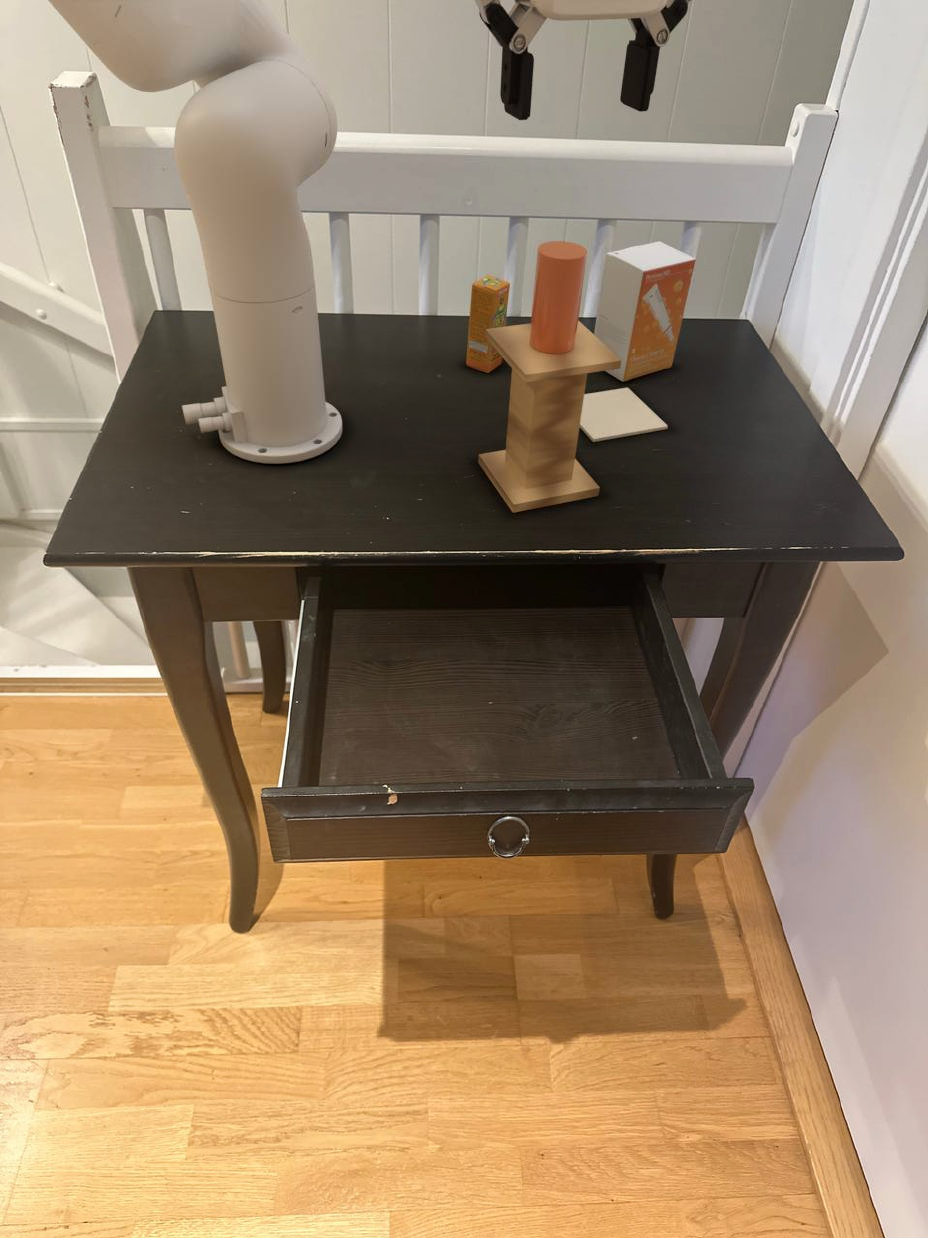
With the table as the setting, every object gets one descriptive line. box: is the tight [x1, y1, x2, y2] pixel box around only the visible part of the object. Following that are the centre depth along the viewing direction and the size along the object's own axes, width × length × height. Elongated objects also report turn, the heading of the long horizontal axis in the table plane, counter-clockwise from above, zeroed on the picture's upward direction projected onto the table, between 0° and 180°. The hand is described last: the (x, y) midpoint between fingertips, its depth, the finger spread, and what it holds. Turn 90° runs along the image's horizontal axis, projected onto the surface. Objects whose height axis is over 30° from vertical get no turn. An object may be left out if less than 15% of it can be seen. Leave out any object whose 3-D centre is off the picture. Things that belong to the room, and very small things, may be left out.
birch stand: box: [477, 319, 621, 514], centre depth 78 cm, size 9×9×14 cm
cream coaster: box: [579, 387, 669, 443], centre depth 92 cm, size 9×9×1 cm
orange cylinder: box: [529, 240, 588, 354], centre depth 70 cm, size 4×4×8 cm
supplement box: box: [465, 274, 511, 374], centre depth 97 cm, size 3×3×10 cm
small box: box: [593, 240, 697, 383], centre depth 97 cm, size 8×6×13 cm
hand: (576, 111), depth 62 cm, fingers open, 9 cm apart
